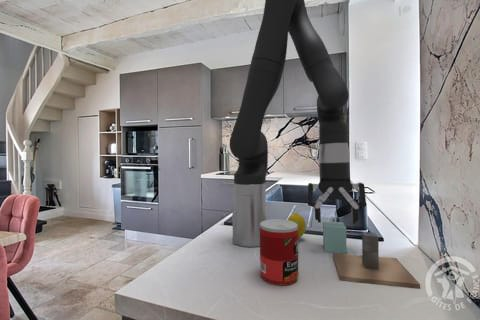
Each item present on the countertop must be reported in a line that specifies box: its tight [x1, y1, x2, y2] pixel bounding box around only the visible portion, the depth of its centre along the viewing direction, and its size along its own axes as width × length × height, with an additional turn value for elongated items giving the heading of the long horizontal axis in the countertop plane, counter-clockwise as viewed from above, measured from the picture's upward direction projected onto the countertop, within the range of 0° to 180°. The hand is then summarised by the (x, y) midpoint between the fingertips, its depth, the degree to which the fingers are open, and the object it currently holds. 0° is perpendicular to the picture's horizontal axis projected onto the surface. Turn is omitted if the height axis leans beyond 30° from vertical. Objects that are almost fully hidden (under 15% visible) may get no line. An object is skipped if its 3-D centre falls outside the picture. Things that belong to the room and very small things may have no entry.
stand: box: [332, 231, 421, 289], centre depth 53 cm, size 14×12×8 cm
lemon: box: [287, 212, 307, 239], centre depth 74 cm, size 6×6×8 cm
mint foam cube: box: [322, 221, 348, 254], centre depth 65 cm, size 5×5×7 cm
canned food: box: [259, 218, 299, 286], centre depth 51 cm, size 8×8×11 cm
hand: (336, 222), depth 65 cm, fingers open, 8 cm apart
